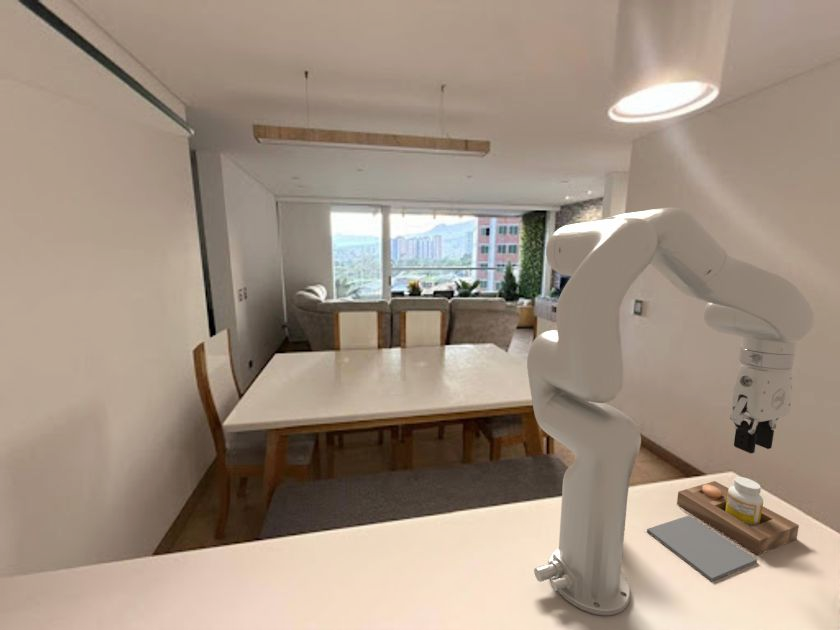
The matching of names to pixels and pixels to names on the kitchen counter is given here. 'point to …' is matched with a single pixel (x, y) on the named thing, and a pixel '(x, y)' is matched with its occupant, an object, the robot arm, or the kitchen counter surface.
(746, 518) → the supplement bottle
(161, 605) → the kitchen counter surface
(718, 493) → the peach rounded piece
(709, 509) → the housing
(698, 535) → the pad
